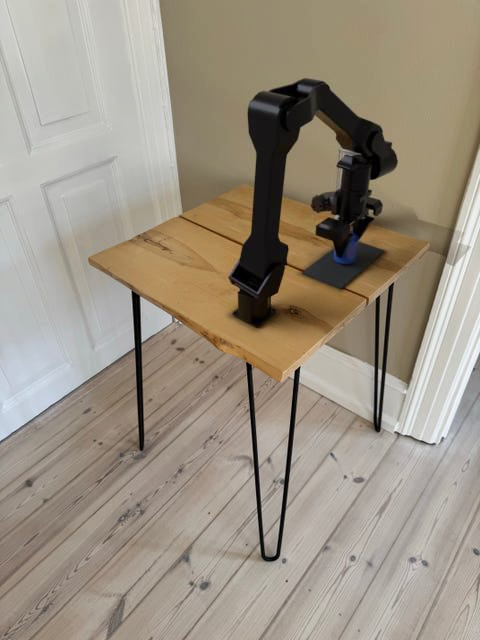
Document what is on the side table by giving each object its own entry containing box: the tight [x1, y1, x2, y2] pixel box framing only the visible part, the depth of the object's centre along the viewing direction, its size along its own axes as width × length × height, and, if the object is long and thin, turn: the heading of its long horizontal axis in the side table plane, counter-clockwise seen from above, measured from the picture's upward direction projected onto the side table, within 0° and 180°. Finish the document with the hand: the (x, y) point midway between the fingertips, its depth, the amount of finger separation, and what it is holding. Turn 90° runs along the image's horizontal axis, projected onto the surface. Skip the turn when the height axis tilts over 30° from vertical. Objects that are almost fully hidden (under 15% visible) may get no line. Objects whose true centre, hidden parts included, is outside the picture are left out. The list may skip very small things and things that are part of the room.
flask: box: [333, 225, 360, 264], centre depth 103 cm, size 5×5×8 cm
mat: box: [301, 241, 386, 290], centre depth 107 cm, size 20×10×1 cm, turn 140°
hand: (345, 252), depth 105 cm, fingers closed on flask, 5 cm apart
